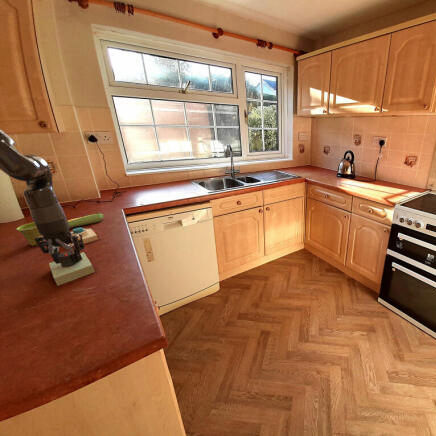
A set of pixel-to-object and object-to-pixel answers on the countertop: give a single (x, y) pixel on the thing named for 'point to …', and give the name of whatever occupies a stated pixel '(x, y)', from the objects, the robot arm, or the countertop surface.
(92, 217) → the green cucumber
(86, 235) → the button box
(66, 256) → the dial
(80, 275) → the panel
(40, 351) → the countertop surface
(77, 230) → the button
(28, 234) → the plant pot
